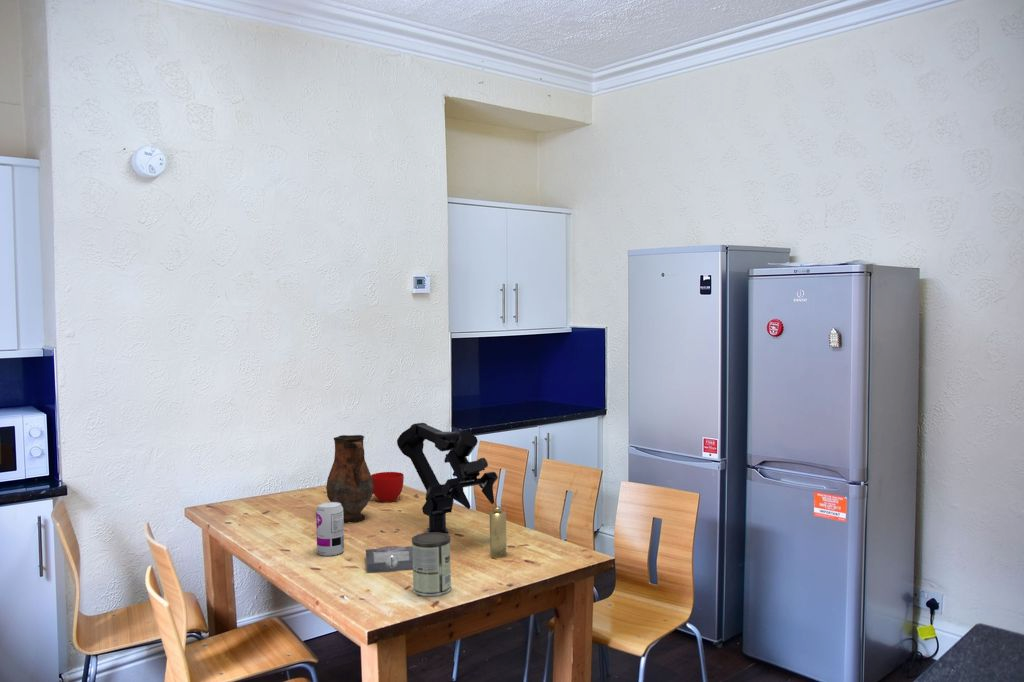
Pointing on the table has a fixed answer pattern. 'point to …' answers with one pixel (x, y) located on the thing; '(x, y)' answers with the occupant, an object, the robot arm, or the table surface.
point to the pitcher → (350, 477)
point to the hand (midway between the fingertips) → (481, 505)
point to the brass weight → (497, 532)
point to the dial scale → (389, 559)
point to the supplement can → (330, 528)
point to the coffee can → (431, 564)
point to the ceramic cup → (387, 485)
